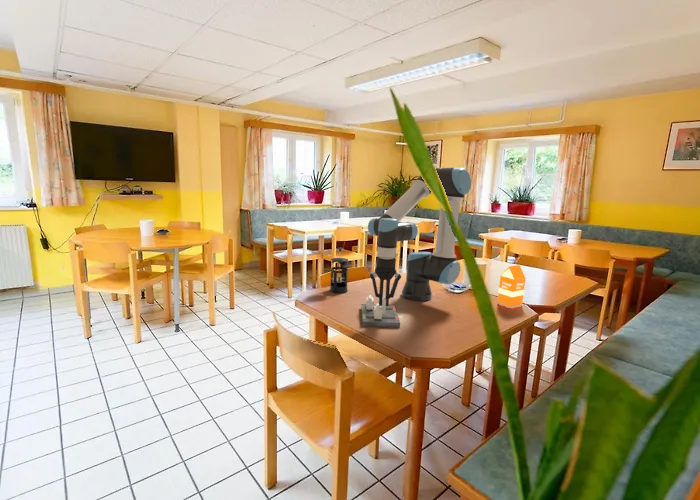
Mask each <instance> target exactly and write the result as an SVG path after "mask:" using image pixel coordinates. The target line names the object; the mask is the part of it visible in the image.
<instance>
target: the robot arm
mask: <svg viewBox="0 0 700 500" xmlns="http://www.w3.org/2000/svg"><path fill="white" fill-rule="evenodd" d="M435 168H436V170H437V173H438V175H439V178H440V180H441V182H442V185H443V187H444V189H445V192H446V195H447V198H448V201H449V204H450V206H451V210H452V213H453V216H454V218H455V220H456V222H457V224H458V221H459V216H460V215H459V213H460V207H461V206H460V205H461V202H462V201H463V200H464V199H465V195H467V194H469V193H470V190H471V188H472V178H471V177H472V176H471V174H470V172H469V171H468V170H467V169H466V168H464V167H435ZM431 194H432V193H431V191H430V190H429V188H428V187H427V185H426V184H425V182H424V180H423V179H422V177H421V175H419V176H418V177H417V178H416V179H415V180H413V182H412V184H411V186H410V188H408V190H407V191H405V192H404V193H403V195H401V196H400V197H399V199H397V200H396V201H395V202H394V203H392V205H391V206H390V207H389V208H388V209H387V210H386V211H385V212H384V213H383V214H382V215H381V216H379V218H377V217H375V218H371V219H370V220H369V221H368V224H367V230H368V232H369V234H370V235H373V236H376V237H377V248H376V249H377V250H376V256H377V257H376V268H375V269H374V271H372V272H370V273H369V277H370V279H371V280H372V286H373V293H374V295H375V298H378V304H379V306H381V307H382V314H383V315H385V310H386V306H388V305H390V304H389V300H390V299H391V298H394V296H395V294H396V290H397V287H398V284H399V281H400V280H401V278H402V275H401V274H400V273H398V272H397V269H396V261H397V260H396V257H397V245H398V243H397V242H407V241H411V240H414V239H415V238H416V237H418V233H419V232H418V231H419V229H418V226H417V224H415V222H411V221H406V222H405V221H404V222H402V220H403V219H404V218H405V217H406V215H408V214H409V212H410V211H411V210H412V209H414V207H416V205H417V204H418V203H419V202H421V200H422V199H423V198H427V197H428V196H429V195H431ZM436 232H437V233H436V241H435V250H434V251H433V252H430V251H415V252H410V253H409V254H407V260H406V280H405V282H404V285H403V287H402V289H401V296H402V297H403V298H404V299H407V300H411V301H419V302H423V301H429V300H431V299H432V297H433V295H432V294H433V292H432V289H431V285H430V281H433V282H435V283H439V284H443V285H451V284H453V283H454V282H455V281H456V280H457V279H458V277H459V275H460V273H461V264H460V262H459V261H457V255H456V254H455V246H456V245H455V244H456V238H457V237H456V238H455V236H454V234H453V232H452V229H451V226H450V225H449V222H448V220H447V217H446V214H445V212H444V211H443V209H442V208H441V205H440V208H439V217H438V226H437V231H436ZM376 277H378V279H379V292H378V287H377V282H376ZM392 278H394V280H393V283H392V285H391V280H392ZM384 281H385V282H384ZM384 283H385V296H384ZM390 285H391V286H392V287H390ZM390 289H391V290H390Z"/></svg>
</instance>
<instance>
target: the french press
mask: <svg viewBox="0 0 700 500" xmlns="http://www.w3.org/2000/svg"><path fill="white" fill-rule="evenodd" d="M335 249H336V250H338V251H339V253H341V252H342V250H345V249H344V248H343V247H336V248H335ZM330 259H331V260H330V261H331V264H332V265H333V264H334V263H338V265H339V266H332V267H331V268H330V287H329V288H330V289H329V292H331V293H332V294H346V293H348V291H349V290H348V275H349V273H348V272H349V268H348V267H346V265H348V262H349V259H348V258H344V257H333V258H330ZM340 274H341V275H340Z"/></svg>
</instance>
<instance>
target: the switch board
mask: <svg viewBox="0 0 700 500" xmlns="http://www.w3.org/2000/svg"><path fill="white" fill-rule="evenodd" d="M374 305H375V306H376V304H374ZM360 308H361V322H362V323H361V324H362V327H367V328H368V327H372V328H392V329H393V328H397V329H399V328H401V321H400V317H399V315H398V313H397V309H396V307H395V305H393V304H392V305H391V304H388V306H386V310H385V315H383V314H382V319H374V307H373V310H370V309H366V303H361V305H360Z"/></svg>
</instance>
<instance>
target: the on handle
mask: <svg viewBox="0 0 700 500" xmlns="http://www.w3.org/2000/svg"><path fill="white" fill-rule="evenodd" d="M374 302H375V300H374V297H373V296H372V295H371V294H369V295H368V296H366V301H365V304H366V309H370V310H373V307H374V305H375V304H374Z"/></svg>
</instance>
